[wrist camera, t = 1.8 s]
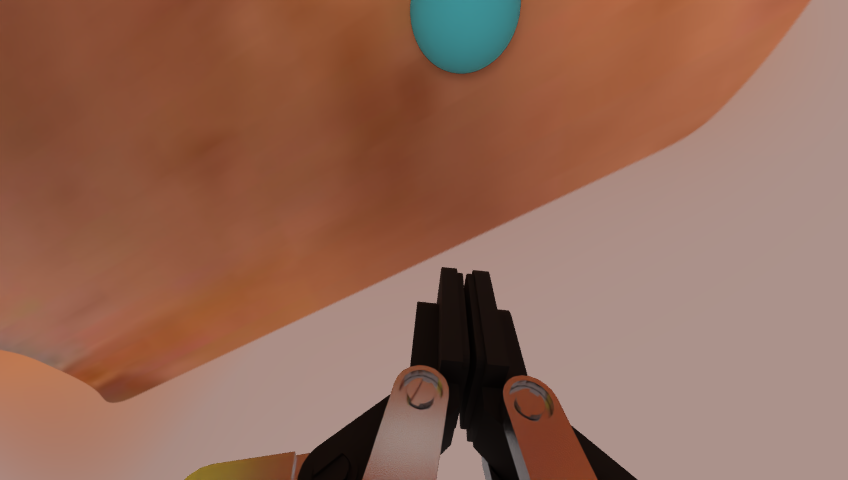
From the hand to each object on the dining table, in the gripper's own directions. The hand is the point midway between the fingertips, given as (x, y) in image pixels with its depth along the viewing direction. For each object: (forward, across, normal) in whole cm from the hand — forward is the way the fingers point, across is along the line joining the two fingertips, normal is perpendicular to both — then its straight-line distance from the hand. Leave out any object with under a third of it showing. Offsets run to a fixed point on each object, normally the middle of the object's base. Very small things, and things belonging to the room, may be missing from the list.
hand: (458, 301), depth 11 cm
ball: (+12, 0, -10) cm, 16 cm away
